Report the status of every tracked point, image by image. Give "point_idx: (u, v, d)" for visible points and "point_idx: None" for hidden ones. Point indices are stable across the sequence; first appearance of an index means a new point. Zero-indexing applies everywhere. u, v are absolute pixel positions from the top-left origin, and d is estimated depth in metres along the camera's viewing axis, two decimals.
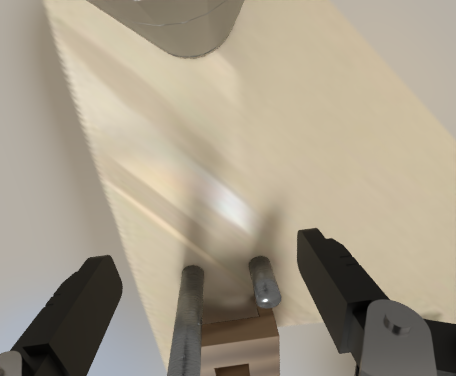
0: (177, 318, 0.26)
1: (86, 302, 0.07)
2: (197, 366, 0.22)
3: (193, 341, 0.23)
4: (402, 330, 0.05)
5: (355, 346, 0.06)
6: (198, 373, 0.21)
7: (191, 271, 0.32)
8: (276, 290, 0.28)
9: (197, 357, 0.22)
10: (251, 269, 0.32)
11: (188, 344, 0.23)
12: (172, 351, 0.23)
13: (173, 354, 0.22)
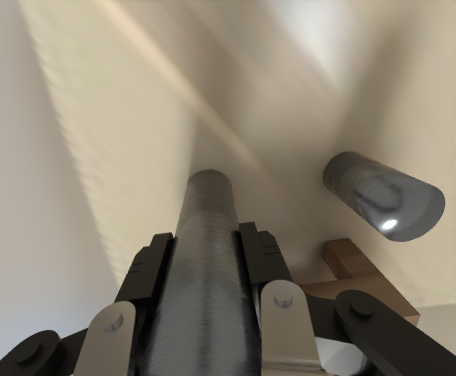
0: (176, 246, 0.09)
1: (164, 269, 0.08)
2: None
3: (235, 301, 0.06)
4: (283, 303, 0.06)
5: (261, 322, 0.07)
6: None
7: (207, 175, 0.14)
8: None
9: (261, 363, 0.05)
10: (337, 172, 0.15)
11: (217, 309, 0.06)
12: (153, 338, 0.06)
13: (156, 350, 0.05)
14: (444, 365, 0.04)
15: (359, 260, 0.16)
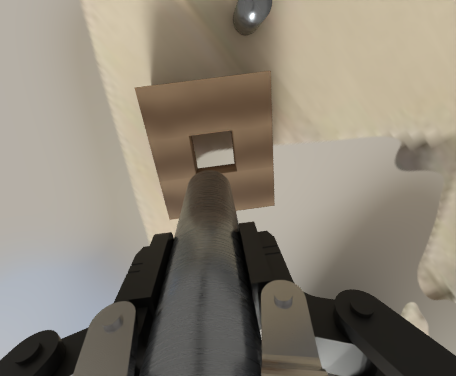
0: (175, 247, 0.09)
1: (164, 269, 0.08)
2: None
3: (235, 302, 0.06)
4: (282, 303, 0.06)
5: (261, 321, 0.07)
6: None
7: (207, 175, 0.14)
8: None
9: None
10: (235, 8, 0.25)
11: (217, 310, 0.06)
12: (153, 339, 0.06)
13: (156, 350, 0.05)
14: (443, 365, 0.04)
15: None
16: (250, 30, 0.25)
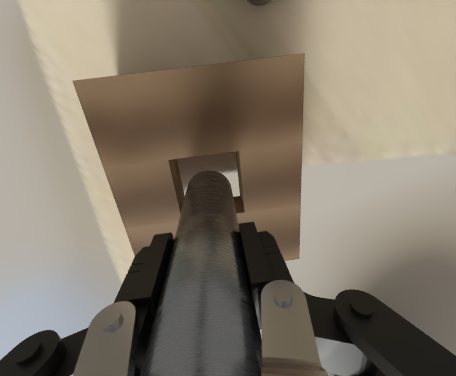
0: (176, 248, 0.09)
1: (164, 269, 0.08)
2: None
3: (235, 303, 0.06)
4: (282, 303, 0.06)
5: (261, 321, 0.07)
6: None
7: (207, 176, 0.14)
8: None
9: None
10: None
11: (217, 310, 0.06)
12: (153, 340, 0.06)
13: (156, 352, 0.05)
14: (443, 365, 0.04)
15: None
16: None
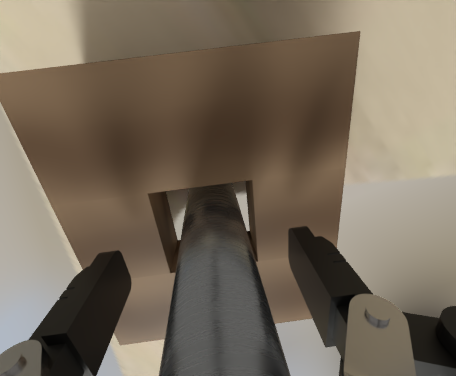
0: (188, 219, 0.10)
1: (98, 295, 0.08)
2: (268, 312, 0.06)
3: (240, 251, 0.08)
4: (381, 322, 0.05)
5: (339, 339, 0.06)
6: (277, 334, 0.06)
7: None
8: None
9: (261, 290, 0.07)
10: None
11: (228, 254, 0.07)
12: (179, 277, 0.07)
13: (184, 281, 0.07)
14: None
15: None
16: None
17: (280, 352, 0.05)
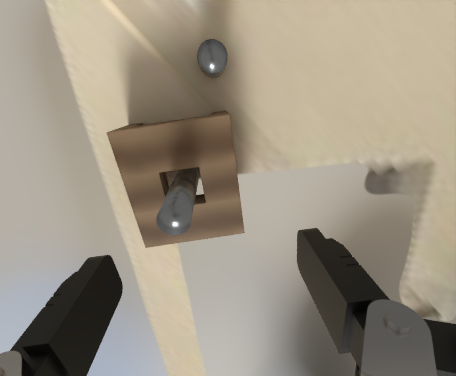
0: (172, 182, 0.27)
1: (86, 302, 0.07)
2: (189, 200, 0.23)
3: (186, 188, 0.25)
4: (402, 330, 0.05)
5: (355, 346, 0.06)
6: (190, 204, 0.22)
7: None
8: (220, 42, 0.24)
9: (190, 197, 0.24)
10: None
11: (181, 188, 0.24)
12: None
13: (167, 194, 0.24)
14: None
15: (222, 112, 0.29)
16: (214, 76, 0.28)
17: (189, 205, 0.22)
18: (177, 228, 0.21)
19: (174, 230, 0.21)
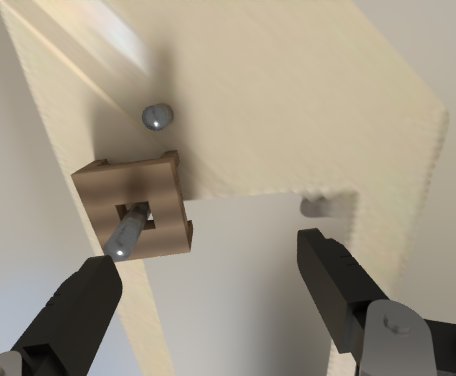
0: (126, 213, 0.34)
1: (86, 302, 0.07)
2: (133, 232, 0.29)
3: (133, 221, 0.31)
4: (402, 330, 0.05)
5: (355, 346, 0.06)
6: (133, 236, 0.29)
7: None
8: (160, 108, 0.30)
9: (135, 229, 0.30)
10: None
11: (129, 221, 0.31)
12: (117, 226, 0.30)
13: (117, 227, 0.30)
14: None
15: (170, 154, 0.36)
16: None
17: (130, 237, 0.28)
18: (120, 256, 0.28)
19: (118, 257, 0.28)
